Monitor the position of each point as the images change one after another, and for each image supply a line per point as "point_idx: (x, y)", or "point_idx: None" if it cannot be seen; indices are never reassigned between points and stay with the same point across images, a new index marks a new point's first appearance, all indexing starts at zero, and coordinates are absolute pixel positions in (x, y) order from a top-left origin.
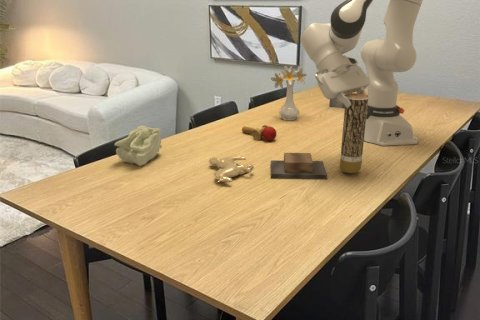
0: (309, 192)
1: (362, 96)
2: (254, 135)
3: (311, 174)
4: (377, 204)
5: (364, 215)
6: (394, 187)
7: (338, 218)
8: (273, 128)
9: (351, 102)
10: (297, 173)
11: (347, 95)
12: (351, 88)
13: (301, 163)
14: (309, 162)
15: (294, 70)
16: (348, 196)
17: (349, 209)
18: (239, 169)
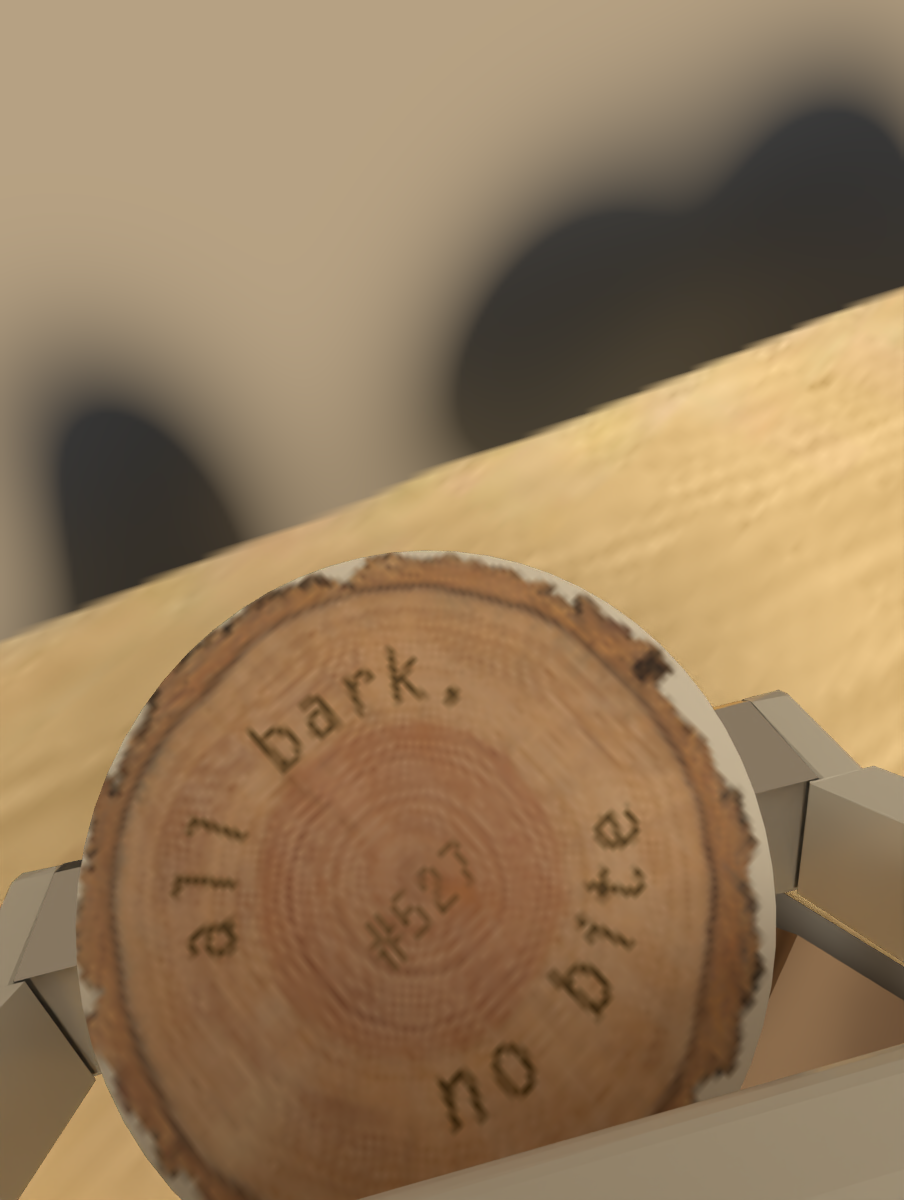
0: (890, 709)
1: (355, 715)
2: None
3: (783, 896)
4: (607, 407)
5: (750, 357)
6: (356, 509)
7: (892, 392)
8: None
9: (724, 725)
10: (878, 974)
11: (678, 1081)
12: (606, 1137)
13: (890, 992)
14: (825, 958)
15: None
16: (692, 550)
17: (783, 434)
18: None
